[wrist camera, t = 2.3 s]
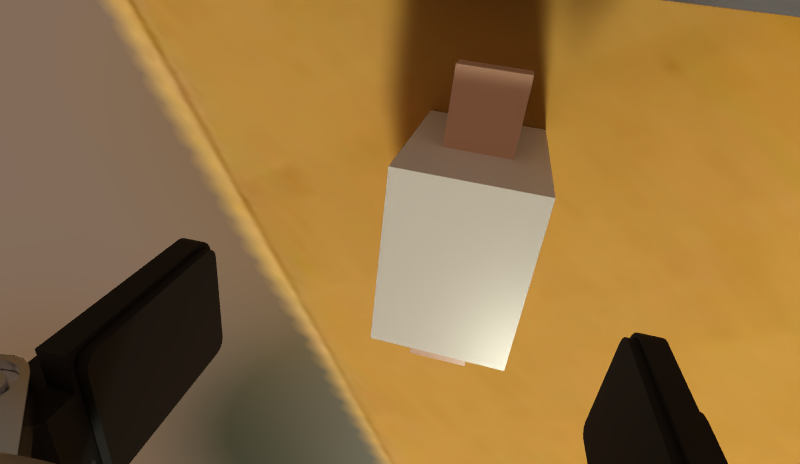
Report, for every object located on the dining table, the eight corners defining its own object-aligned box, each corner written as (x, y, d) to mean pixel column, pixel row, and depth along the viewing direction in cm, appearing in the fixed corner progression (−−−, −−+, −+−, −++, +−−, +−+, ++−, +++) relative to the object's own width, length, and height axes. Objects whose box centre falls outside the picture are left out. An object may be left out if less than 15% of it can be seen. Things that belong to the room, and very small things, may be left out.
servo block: (564, 60, 15) (584, 100, 10) (497, 308, 20) (488, 423, 15) (440, 42, 16) (398, 71, 10) (405, 287, 20) (365, 390, 15)
